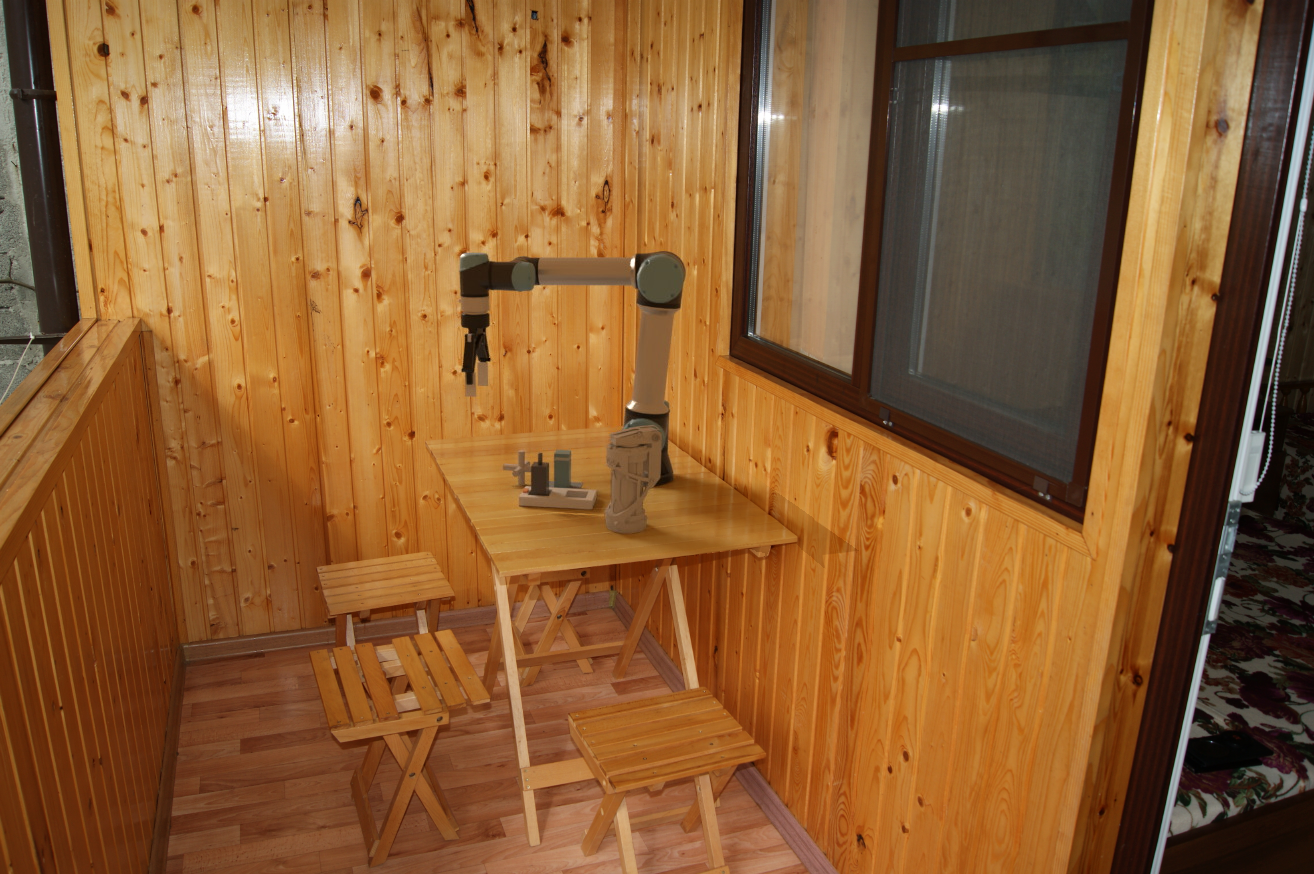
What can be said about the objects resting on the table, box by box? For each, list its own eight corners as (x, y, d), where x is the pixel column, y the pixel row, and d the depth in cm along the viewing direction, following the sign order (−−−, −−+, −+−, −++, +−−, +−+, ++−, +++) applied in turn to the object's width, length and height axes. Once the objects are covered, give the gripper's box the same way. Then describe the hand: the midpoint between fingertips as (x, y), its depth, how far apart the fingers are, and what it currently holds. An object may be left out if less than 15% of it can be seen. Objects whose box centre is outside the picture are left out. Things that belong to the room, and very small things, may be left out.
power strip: (596, 500, 275) (596, 488, 274) (591, 511, 267) (592, 498, 266) (525, 496, 277) (525, 484, 276) (518, 507, 268) (518, 494, 267)
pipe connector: (533, 493, 280) (533, 457, 277) (498, 489, 282) (497, 454, 279) (544, 482, 289) (544, 447, 287) (510, 479, 291) (510, 444, 289)
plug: (571, 485, 286) (571, 450, 283) (568, 489, 282) (569, 454, 279) (556, 484, 286) (556, 449, 284) (553, 488, 282) (553, 453, 280)
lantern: (612, 535, 250) (614, 435, 244) (599, 521, 260) (601, 424, 253) (662, 530, 255) (666, 432, 248) (648, 517, 264) (651, 421, 258)
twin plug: (548, 498, 274) (549, 451, 270) (546, 503, 270) (546, 455, 266) (533, 498, 274) (534, 450, 270) (531, 502, 270) (531, 454, 267)
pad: (583, 484, 289) (583, 482, 289) (577, 495, 279) (577, 493, 279) (547, 482, 289) (547, 480, 289) (541, 493, 280) (541, 491, 280)
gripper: (472, 305, 286) (474, 380, 292) (448, 318, 262) (451, 400, 268) (499, 306, 286) (500, 381, 291) (477, 319, 262) (479, 401, 267)
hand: (477, 391), depth 279 cm, fingers open, 13 cm apart
